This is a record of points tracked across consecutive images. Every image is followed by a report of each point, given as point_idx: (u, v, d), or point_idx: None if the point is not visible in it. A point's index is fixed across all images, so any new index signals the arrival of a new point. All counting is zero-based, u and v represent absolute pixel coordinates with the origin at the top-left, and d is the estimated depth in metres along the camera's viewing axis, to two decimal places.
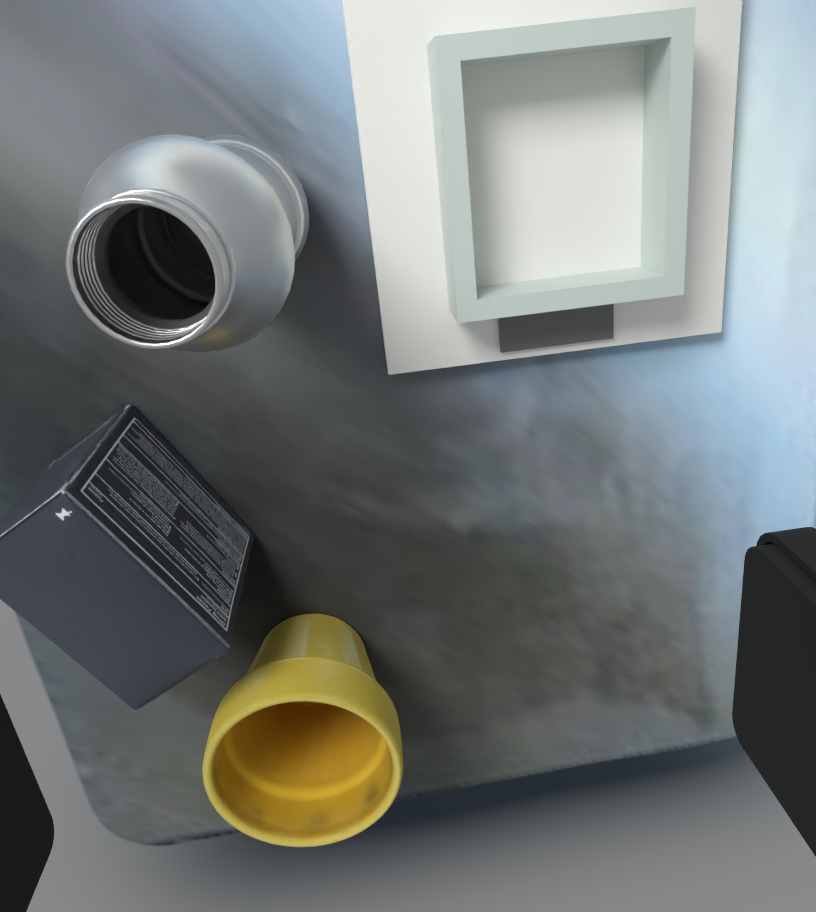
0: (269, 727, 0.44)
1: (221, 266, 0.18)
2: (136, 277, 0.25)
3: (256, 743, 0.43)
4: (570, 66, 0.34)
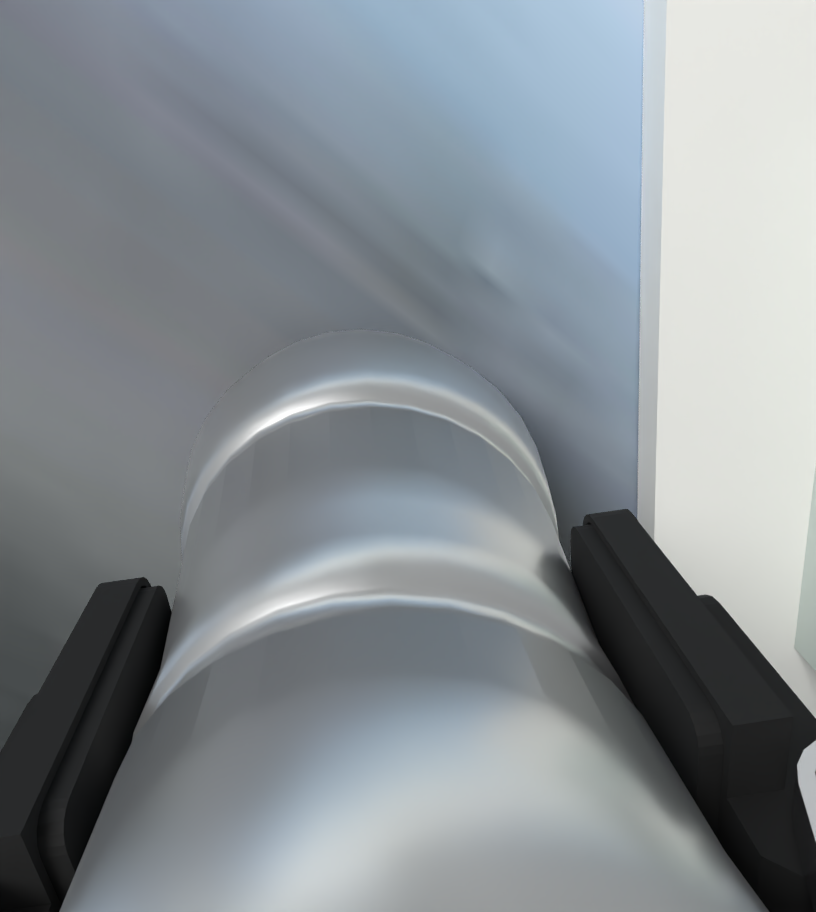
0: None
1: None
2: None
3: None
4: None
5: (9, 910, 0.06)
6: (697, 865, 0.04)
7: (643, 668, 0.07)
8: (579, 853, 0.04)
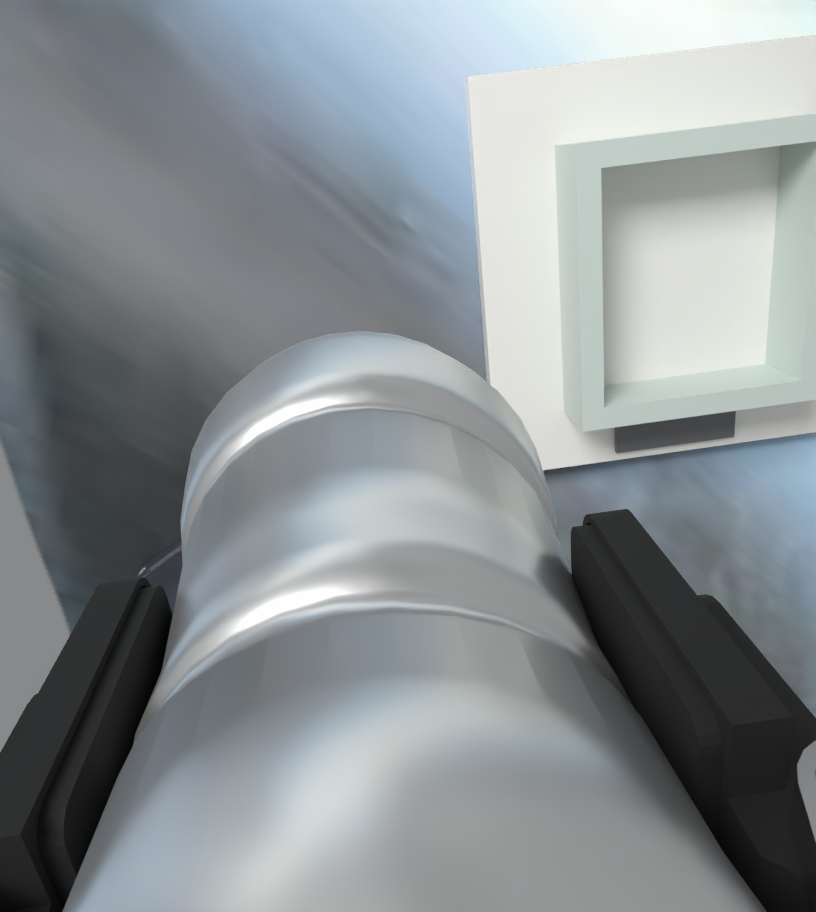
0: None
1: None
2: None
3: None
4: (702, 164, 0.32)
5: (9, 910, 0.06)
6: (696, 866, 0.04)
7: (643, 668, 0.07)
8: (579, 855, 0.04)
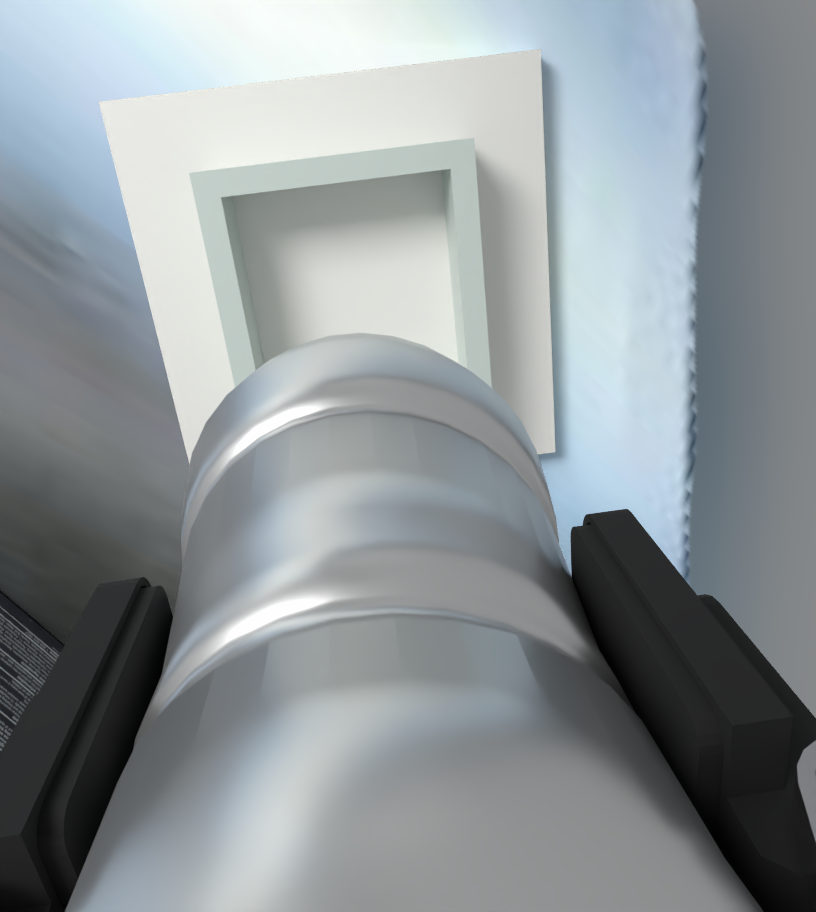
0: None
1: None
2: None
3: None
4: (362, 189, 0.32)
5: (9, 910, 0.06)
6: (697, 873, 0.04)
7: (643, 668, 0.07)
8: (580, 863, 0.04)
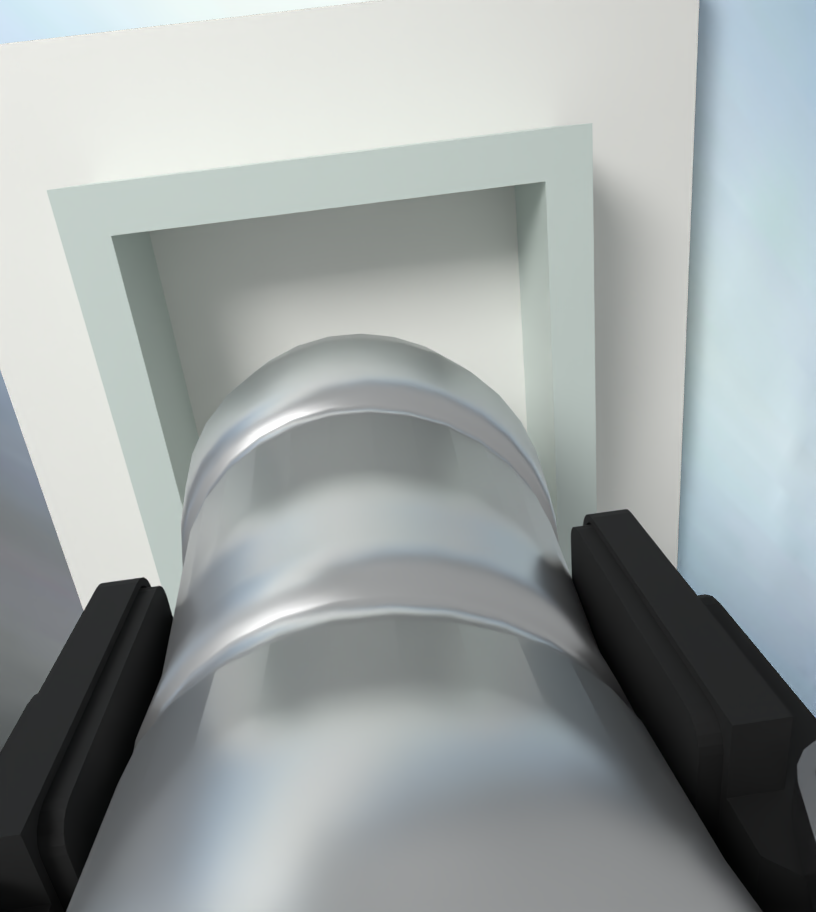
0: None
1: None
2: None
3: None
4: (375, 214, 0.18)
5: (9, 910, 0.06)
6: (697, 875, 0.04)
7: (643, 668, 0.07)
8: (580, 864, 0.04)
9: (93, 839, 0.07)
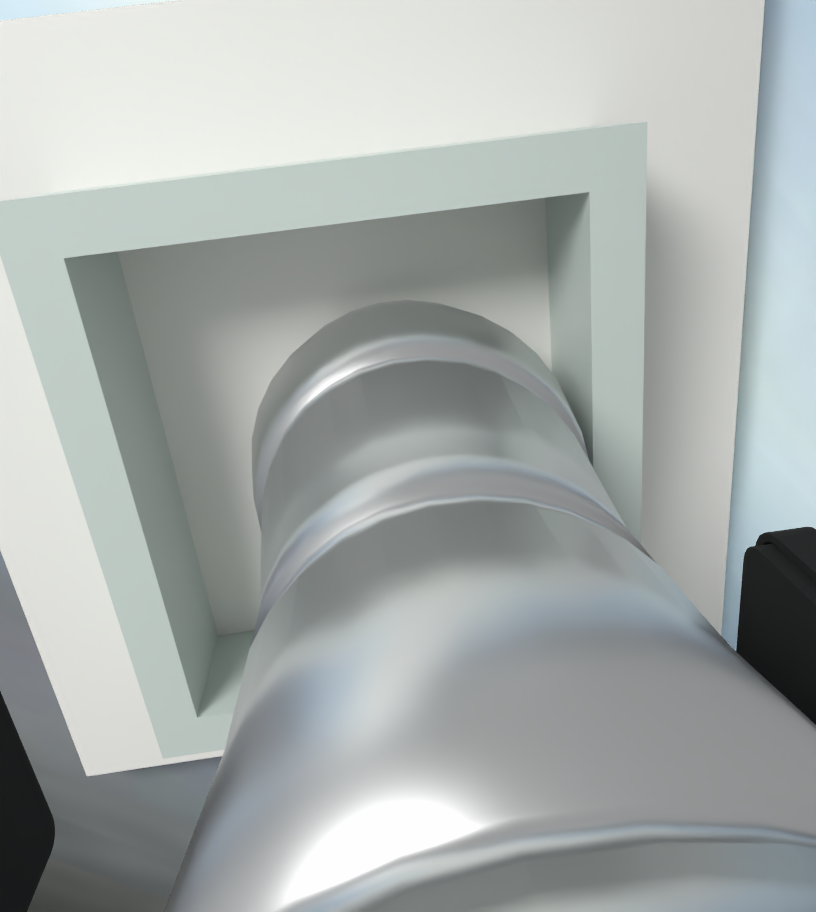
0: None
1: None
2: None
3: None
4: (383, 229, 0.16)
5: None
6: (744, 666, 0.06)
7: None
8: (658, 640, 0.05)
9: None
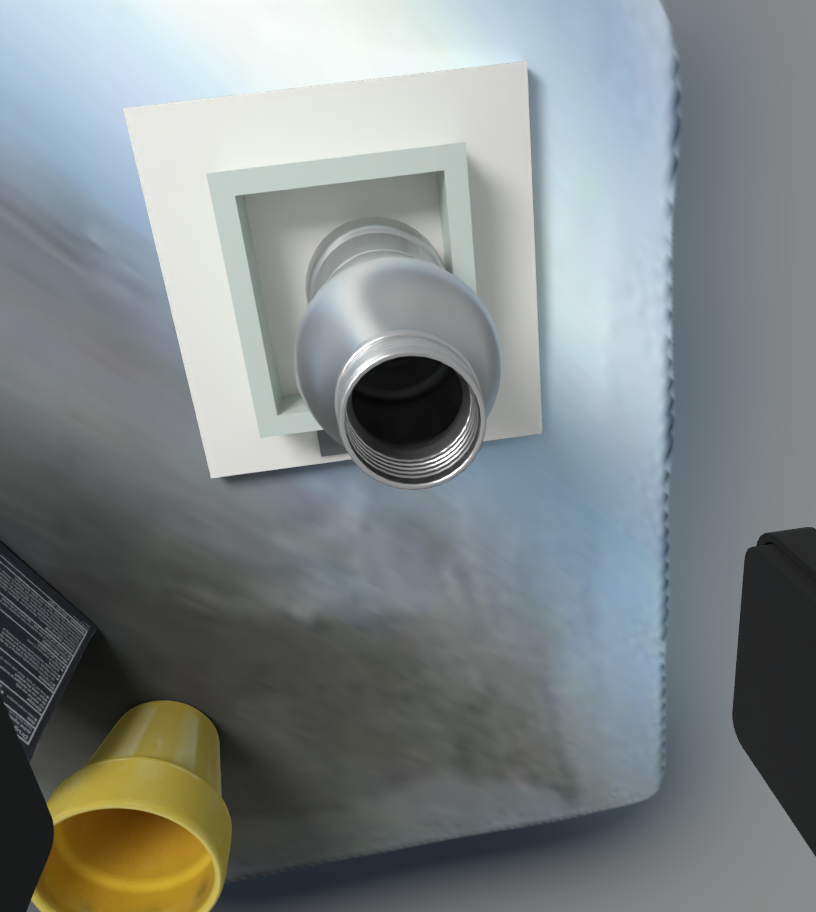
0: (115, 815, 0.45)
1: None
2: None
3: (97, 834, 0.43)
4: (363, 188, 0.34)
5: None
6: None
7: None
8: None
9: None
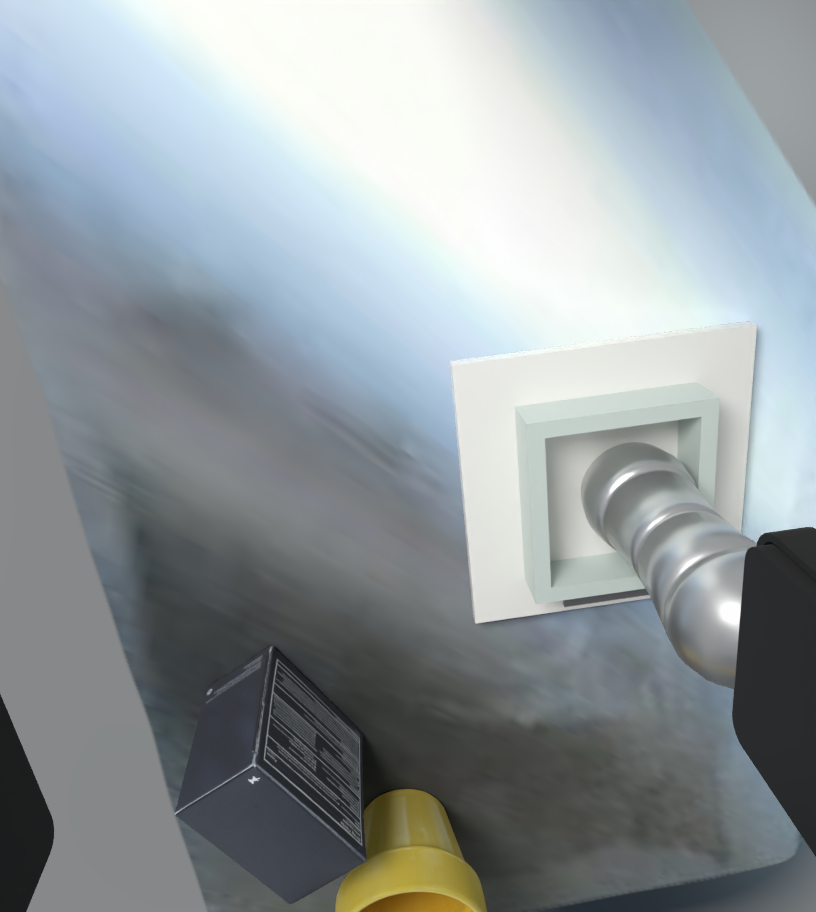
0: None
1: None
2: None
3: None
4: None
5: None
6: (750, 539, 0.35)
7: None
8: (737, 533, 0.34)
9: None
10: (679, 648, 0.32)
